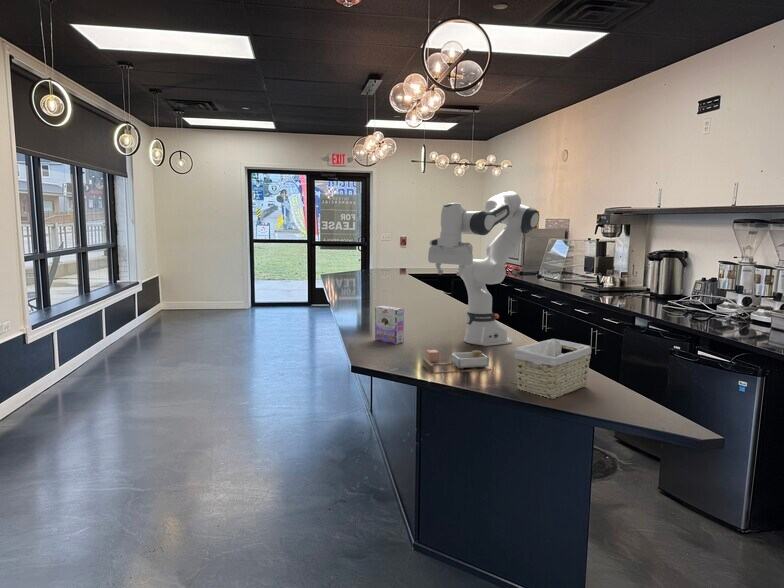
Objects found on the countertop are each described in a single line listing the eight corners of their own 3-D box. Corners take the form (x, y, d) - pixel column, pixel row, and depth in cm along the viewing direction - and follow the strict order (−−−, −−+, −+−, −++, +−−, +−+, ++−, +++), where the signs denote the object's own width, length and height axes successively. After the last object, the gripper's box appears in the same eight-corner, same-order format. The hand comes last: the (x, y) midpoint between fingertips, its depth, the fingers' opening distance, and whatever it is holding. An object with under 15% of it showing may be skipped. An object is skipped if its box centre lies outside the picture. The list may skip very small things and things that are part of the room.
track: (479, 364, 207) (480, 354, 206) (493, 373, 194) (493, 363, 194) (421, 367, 201) (422, 357, 201) (431, 377, 189) (432, 366, 188)
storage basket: (551, 402, 164) (554, 357, 162) (510, 389, 177) (512, 347, 175) (591, 387, 180) (594, 345, 177) (550, 376, 192) (552, 337, 190)
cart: (479, 362, 204) (479, 351, 204) (488, 369, 196) (488, 357, 195) (450, 364, 202) (450, 353, 201) (458, 371, 193) (458, 359, 192)
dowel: (479, 360, 201) (479, 350, 201) (483, 362, 198) (483, 352, 197) (470, 360, 200) (470, 350, 200) (473, 363, 197) (474, 353, 196)
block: (435, 361, 210) (436, 349, 210) (438, 364, 206) (439, 352, 206) (426, 362, 209) (426, 350, 209) (429, 364, 206) (429, 352, 205)
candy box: (404, 342, 242) (404, 308, 240) (395, 345, 238) (396, 309, 236) (383, 338, 251) (383, 304, 249) (374, 340, 247) (374, 306, 245)
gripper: (476, 242, 212) (475, 276, 214) (434, 241, 224) (433, 272, 226) (468, 242, 207) (467, 277, 209) (426, 241, 219) (425, 273, 221)
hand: (449, 274), depth 218 cm, fingers open, 8 cm apart
